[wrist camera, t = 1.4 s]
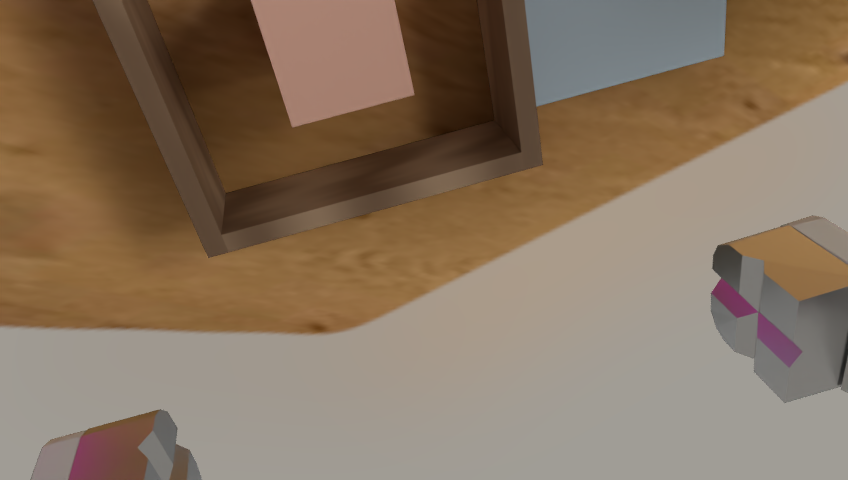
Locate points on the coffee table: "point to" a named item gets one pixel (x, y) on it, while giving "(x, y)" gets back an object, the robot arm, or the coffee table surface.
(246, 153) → the coffee table surface
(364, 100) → the block
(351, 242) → the coffee table surface
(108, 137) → the coffee table surface
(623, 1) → the mat
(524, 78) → the wooden frame
